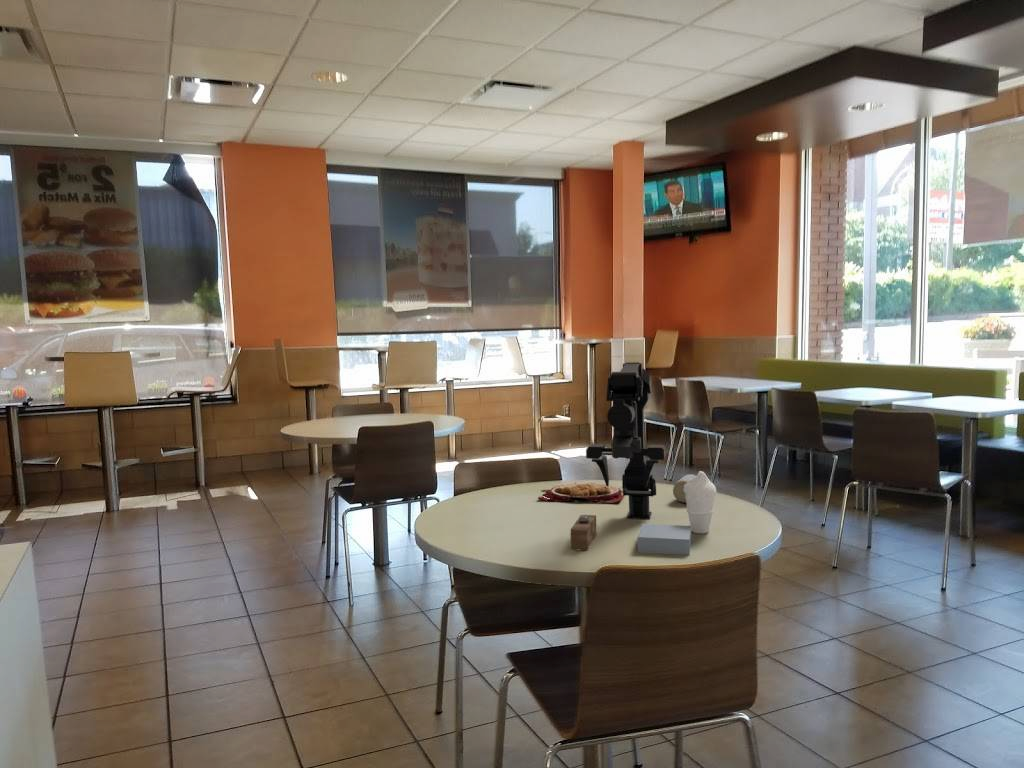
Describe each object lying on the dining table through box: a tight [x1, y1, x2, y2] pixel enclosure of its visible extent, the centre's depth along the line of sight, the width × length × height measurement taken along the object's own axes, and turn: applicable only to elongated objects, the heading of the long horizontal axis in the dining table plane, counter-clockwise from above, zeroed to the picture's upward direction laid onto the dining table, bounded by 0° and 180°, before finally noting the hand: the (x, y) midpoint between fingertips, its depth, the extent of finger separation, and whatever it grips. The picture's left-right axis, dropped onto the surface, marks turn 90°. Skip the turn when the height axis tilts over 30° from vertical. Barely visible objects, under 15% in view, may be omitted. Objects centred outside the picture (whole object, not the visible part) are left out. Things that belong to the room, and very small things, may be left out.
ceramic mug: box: [672, 473, 697, 504], centre depth 220 cm, size 11×8×8 cm
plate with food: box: [537, 482, 625, 505], centre depth 235 cm, size 24×26×3 cm
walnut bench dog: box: [570, 514, 597, 551], centre depth 183 cm, size 14×4×6 cm, turn 164°
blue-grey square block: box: [637, 523, 692, 556], centre depth 177 cm, size 12×12×4 cm
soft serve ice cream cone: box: [683, 470, 717, 534], centre depth 188 cm, size 8×8×16 cm
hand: (626, 486), depth 177 cm, fingers open, 9 cm apart
